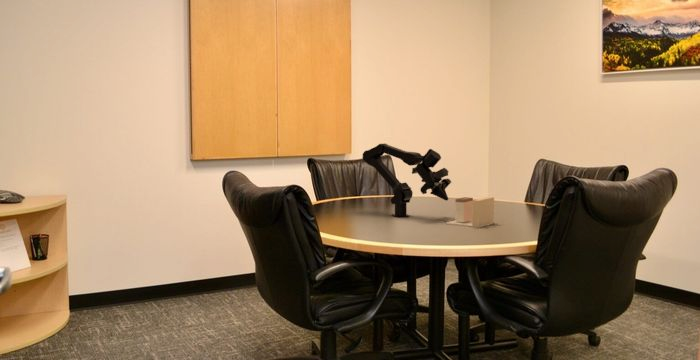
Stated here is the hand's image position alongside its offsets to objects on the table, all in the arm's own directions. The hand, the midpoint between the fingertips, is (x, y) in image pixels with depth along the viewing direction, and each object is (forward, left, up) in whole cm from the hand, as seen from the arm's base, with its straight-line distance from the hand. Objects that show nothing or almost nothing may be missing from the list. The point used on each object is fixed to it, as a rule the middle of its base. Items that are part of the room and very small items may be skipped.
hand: (447, 199), depth 285 cm
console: (+10, +6, -10) cm, 15 cm away
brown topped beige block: (+7, +4, -10) cm, 13 cm away
